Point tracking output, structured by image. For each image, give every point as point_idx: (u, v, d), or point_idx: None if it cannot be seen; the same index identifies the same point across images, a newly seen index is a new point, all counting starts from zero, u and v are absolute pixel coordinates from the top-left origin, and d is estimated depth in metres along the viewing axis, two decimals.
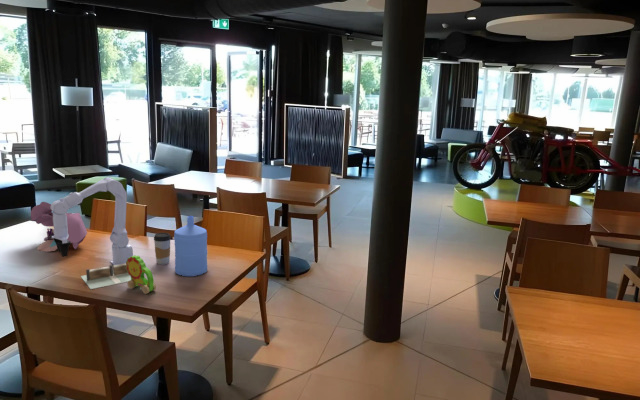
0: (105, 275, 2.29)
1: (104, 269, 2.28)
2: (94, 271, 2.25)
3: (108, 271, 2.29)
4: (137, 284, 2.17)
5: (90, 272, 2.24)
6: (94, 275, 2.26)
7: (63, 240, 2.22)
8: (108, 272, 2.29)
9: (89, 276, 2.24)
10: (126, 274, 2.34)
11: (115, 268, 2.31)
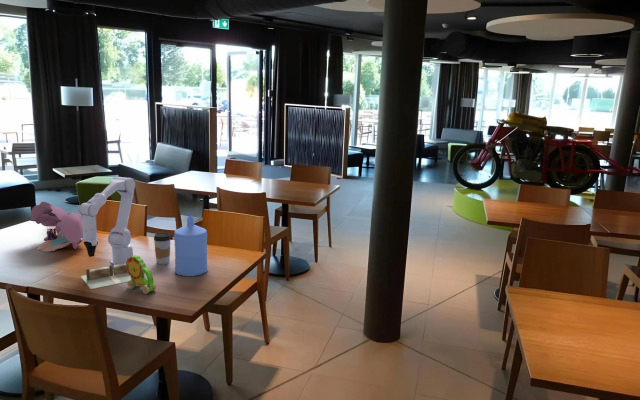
0: (105, 275, 2.29)
1: (104, 269, 2.28)
2: (94, 271, 2.25)
3: (108, 271, 2.29)
4: (137, 284, 2.17)
5: (90, 272, 2.24)
6: (94, 275, 2.26)
7: (93, 242, 2.21)
8: (108, 272, 2.29)
9: (89, 276, 2.24)
10: (126, 274, 2.34)
11: (115, 268, 2.31)
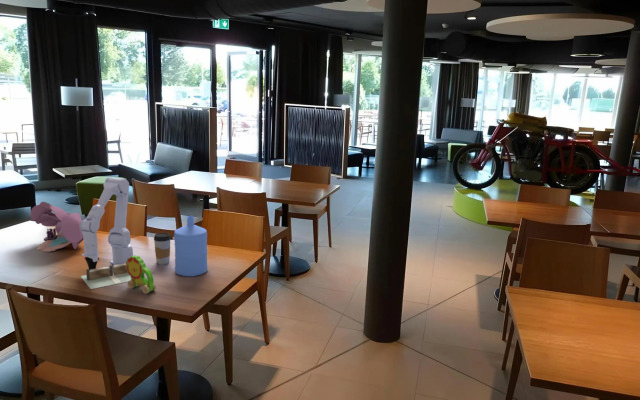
0: (105, 275, 2.29)
1: (104, 269, 2.28)
2: (94, 271, 2.25)
3: (108, 271, 2.29)
4: (137, 284, 2.17)
5: (90, 272, 2.24)
6: (94, 275, 2.26)
7: (94, 258, 2.23)
8: (108, 272, 2.29)
9: (89, 276, 2.24)
10: (126, 274, 2.34)
11: (115, 268, 2.31)
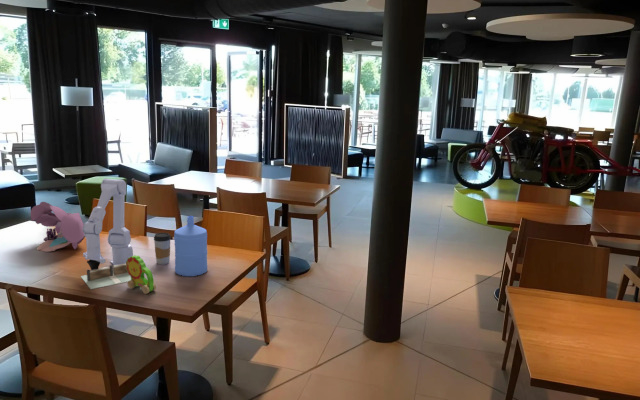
0: (105, 275, 2.29)
1: (104, 269, 2.28)
2: (95, 271, 2.25)
3: (108, 271, 2.29)
4: (137, 284, 2.17)
5: (91, 272, 2.24)
6: (95, 275, 2.25)
7: (102, 260, 2.21)
8: (108, 272, 2.29)
9: (90, 276, 2.24)
10: (126, 274, 2.34)
11: (115, 268, 2.31)
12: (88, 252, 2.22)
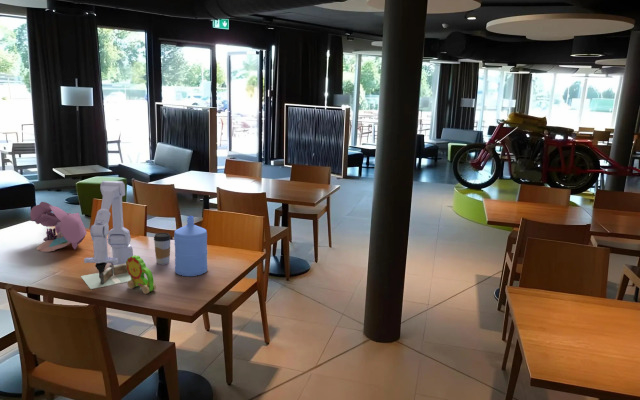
0: (110, 275, 2.28)
1: (109, 270, 2.27)
2: (105, 273, 2.23)
3: (111, 271, 2.29)
4: (137, 284, 2.17)
5: (104, 275, 2.21)
6: (106, 277, 2.24)
7: (116, 260, 2.22)
8: (111, 272, 2.29)
9: (103, 279, 2.21)
10: (126, 274, 2.34)
11: (115, 268, 2.31)
12: (99, 255, 2.19)
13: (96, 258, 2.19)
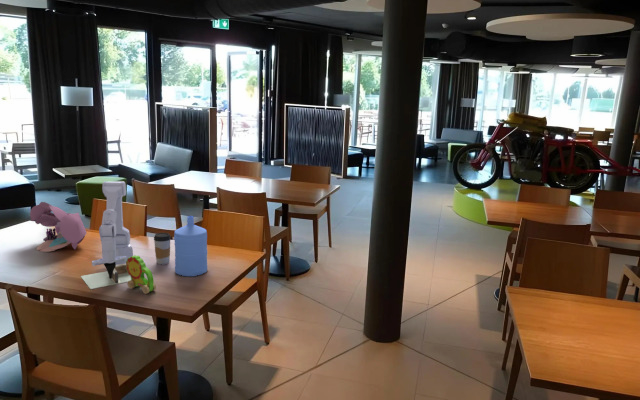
0: None
1: None
2: None
3: None
4: (137, 284, 2.17)
5: None
6: None
7: (126, 258, 2.26)
8: None
9: None
10: (126, 274, 2.34)
11: (115, 268, 2.31)
12: (111, 255, 2.20)
13: (108, 258, 2.19)
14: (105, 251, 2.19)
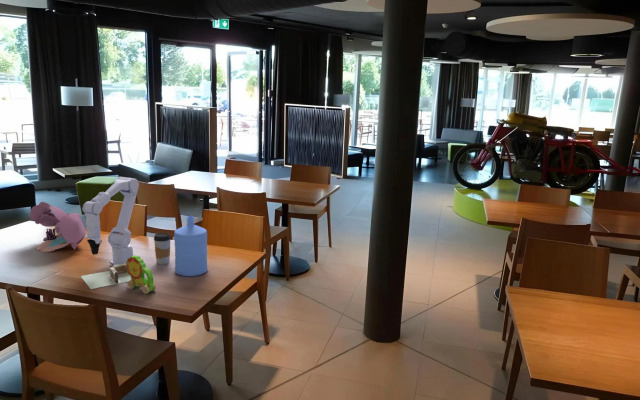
0: None
1: None
2: None
3: None
4: (137, 284, 2.17)
5: None
6: None
7: (97, 240, 2.24)
8: None
9: None
10: (126, 274, 2.34)
11: (115, 268, 2.31)
12: (87, 231, 2.27)
13: (87, 233, 2.28)
14: None
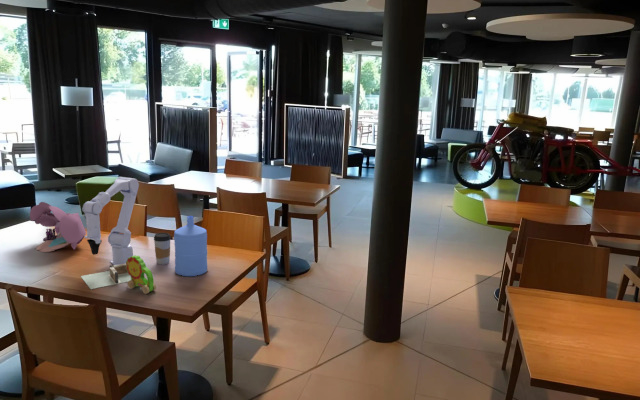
0: None
1: None
2: None
3: None
4: (137, 284, 2.17)
5: None
6: None
7: (97, 240, 2.24)
8: None
9: None
10: (126, 274, 2.34)
11: (115, 268, 2.31)
12: (87, 231, 2.27)
13: (87, 233, 2.28)
14: None
